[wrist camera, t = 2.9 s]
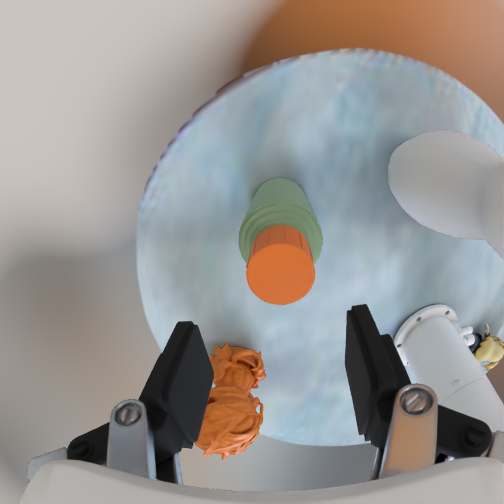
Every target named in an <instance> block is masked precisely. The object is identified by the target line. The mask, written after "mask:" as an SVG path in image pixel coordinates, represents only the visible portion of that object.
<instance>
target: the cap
mask: <svg viewBox="0 0 504 504" xmlns="http://www.w3.org/2000/svg"><path fill="white" fill-rule="evenodd" d="M246 268H247V271H246V277H247V282H248V285H249V287H250V289H251V290H252V292H253V293H254V294H255V295H256V296H257V297H259V298H260V299H262V300H263V301H265V302H268V303H271V304H276V305H285V304H290V303H293V302H296V301H298V300H300V299H301V298H303V297H304V296H305V295H306V294H307V293H308V292H309V291H310V289H311V287H312V285H313V283H314V279H315V269H314V264H313V257H312V253H311V249H310V245H309V243H308V242H307V240H306V238H305V237H304V235H303V234H302V233H301V232H300V231H298V230H297V229H295V228H293V227H290V226H286V225H276V226H272V227H268V228H267V229H265V230H263V231H262V232H261V233H260V234H259V235H258V236H256V239H255V241H254V243H253V246H252V250H251V251H250V255H249V259H248V263H247V267H246Z"/></svg>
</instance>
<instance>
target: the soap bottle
mask: <svg viewBox="0 0 504 504" xmlns="http://www.w3.org/2000/svg"><path fill="white" fill-rule="evenodd" d="M387 171H388V184H389V187H390V189H391V191H392V193H393V195H394V197H395V198H396V200H397V201H398V203H399V204H400V205H401V207H402V208H403V209H404V210H405V211H406V213H407V214H408V215H410V216H411V217H412V218H413V219H415V220H416V221H417V222H418V223H419V224H421V225H424V226H426V227H428V228H430V229H432V230H434V231H437V232H440V233H443V234H446V235H448V236H452V237H456V238H461V239H475V240H486V241H487V243H488V244H489V245H490V246H491V247H492V248H493V249H494V250H495V251H496V252H497V253H498V255H499V256H500V257H501V258H503V259H504V157H503V156H502V155H500V154H499V153H498V152H497V151H496V150H495V149H494V148H492V147H491V146H490V145H488V144H487V143H485V142H483V141H481V140H478V139H476V138H474V137H471V136H468V135H466V134H463V133H460V132H455V131H449V130H435V131H428V132H426V133H423V134H420V135H418V136H415V137H413V138H411V139H409V140H407V141H406V142H404V143H403V144H401V145H399V146H398V147H397V148H396V149H395V151H394V152H393V153H392V155H391V156H390V161H389V165H388V169H387Z"/></svg>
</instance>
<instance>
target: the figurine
mask: <svg viewBox="0 0 504 504" xmlns="http://www.w3.org/2000/svg"><path fill="white" fill-rule="evenodd" d="M484 331H485V332H486V333H485V340H482V336H481V335H480V334H473V335H474V337H475V342H474V344H472V345H469V346H468V348H469V349H470V351H471V352H472V354H473V353H474V354H473V355H474V357H475V358H476V360H477V362H481V361H483V360H485V361H486V362H491V363H490V364H488V365H483V366H484V367H485V368H486V370H485V371H487V370H489V369H491V368H493V367H494V366H495V365H497V364H498V360H500V359H501V358H502V356H503V354H504V342H502V341H501V340H500V338H498V337H495V338H492V337H491V336H490V332H489V325H488V324H487V323H485V328H484ZM464 336H467V335H464ZM464 336H463V337H464Z"/></svg>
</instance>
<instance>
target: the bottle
mask: <svg viewBox="0 0 504 504" xmlns="http://www.w3.org/2000/svg"><path fill="white" fill-rule="evenodd" d="M276 225H286V226H290V227H293V228H295V229H297V230H298V231H300V232H301V233H302V234H303V235H304V237H305V238H306V240H307V242H308V243H309V245H310V249H311V253H312V257H313V264H315V263H316V261H317V259H318V258H319V255H320V253H321V250H322V244H323V237H322V231H321V228H320V225H319V223H318V221H317V218H316V216H315V214H314V212H313V210H312V207H311V205H310V203H309V201H308V199H307V196H306V194H305V192H304V190H303V189H302V188H301V186H300V185H299V184H297V183H296V182H295V181H293V180H291V179H288V178H282V177H278V178H272V179H270V180H268V181H266V182H264V183H263V184H262V185H261V186H260V187H259V188H258V190H257V191H256V193H255V196H254V198H253V200H252V202H251V205H250V207H249V209H248V212H247V214H246V216H245V219H244V221H243V223H242V226H241V229H240V232H239V248H240V252H241V255H242V257H243V259H244V260H245V262H246V263H248V259H249V255H250V251H251V250H252V246H253V243H254V241H255V239H256V236H258V235H259V234H260V233H261V232H262V231H263V230H265V229H267V228H268V227H272V226H276Z"/></svg>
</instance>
